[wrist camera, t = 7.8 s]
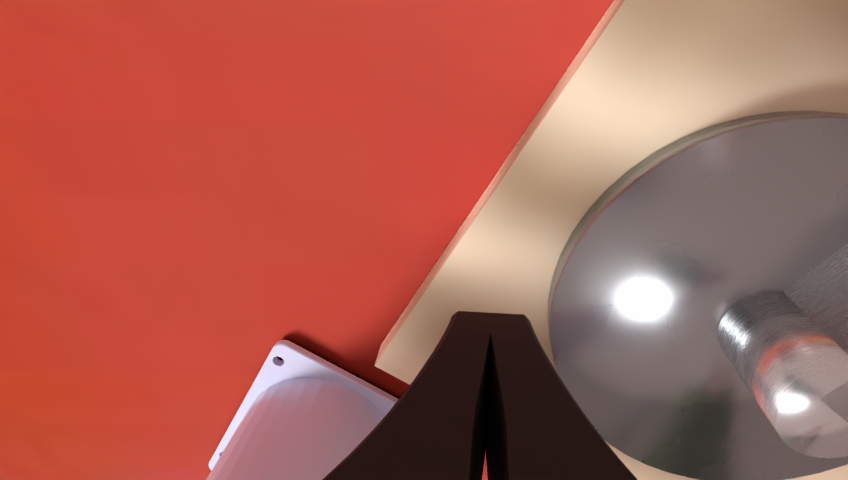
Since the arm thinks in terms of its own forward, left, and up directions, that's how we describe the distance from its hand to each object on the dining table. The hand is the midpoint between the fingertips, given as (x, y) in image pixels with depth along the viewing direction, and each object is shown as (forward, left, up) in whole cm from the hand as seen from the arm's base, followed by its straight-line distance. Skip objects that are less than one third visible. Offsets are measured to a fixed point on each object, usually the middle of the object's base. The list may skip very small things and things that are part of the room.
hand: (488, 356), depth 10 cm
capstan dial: (+3, -10, -9) cm, 14 cm away
